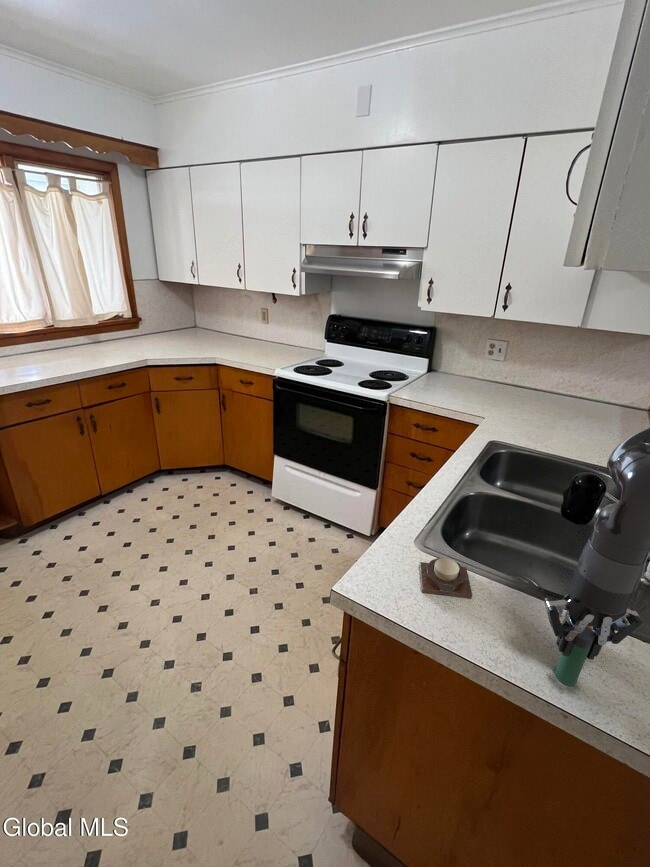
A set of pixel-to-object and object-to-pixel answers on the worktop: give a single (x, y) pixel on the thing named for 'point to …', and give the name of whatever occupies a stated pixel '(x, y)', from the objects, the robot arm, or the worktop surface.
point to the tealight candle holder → (444, 582)
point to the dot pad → (446, 569)
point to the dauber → (575, 658)
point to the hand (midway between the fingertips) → (575, 652)
